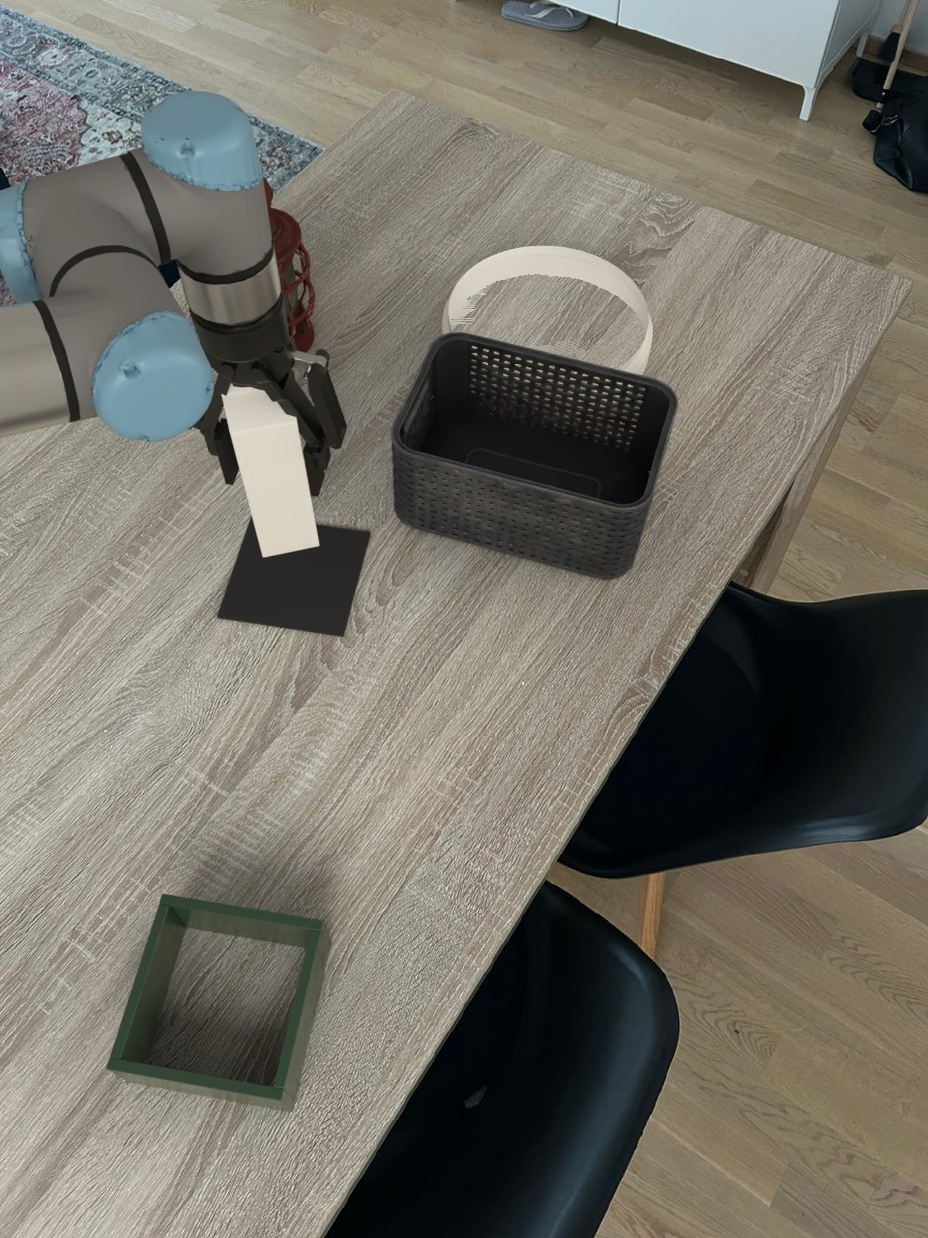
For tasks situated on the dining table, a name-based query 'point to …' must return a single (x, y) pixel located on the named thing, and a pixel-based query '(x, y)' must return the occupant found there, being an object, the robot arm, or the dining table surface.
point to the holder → (155, 982)
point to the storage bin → (530, 454)
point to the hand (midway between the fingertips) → (275, 479)
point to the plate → (552, 264)
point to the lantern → (292, 273)
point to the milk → (271, 471)
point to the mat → (297, 583)
